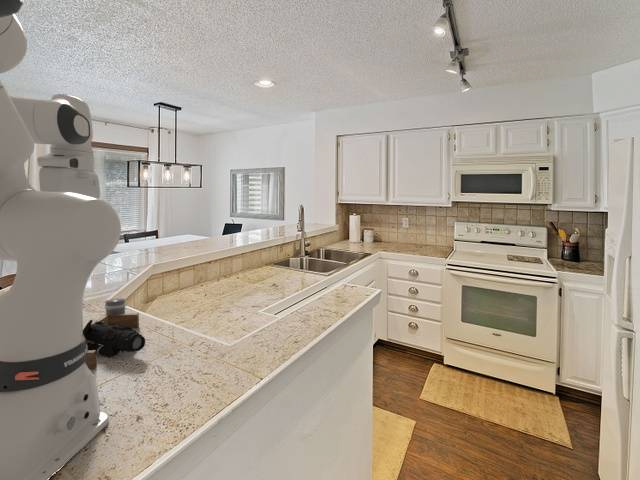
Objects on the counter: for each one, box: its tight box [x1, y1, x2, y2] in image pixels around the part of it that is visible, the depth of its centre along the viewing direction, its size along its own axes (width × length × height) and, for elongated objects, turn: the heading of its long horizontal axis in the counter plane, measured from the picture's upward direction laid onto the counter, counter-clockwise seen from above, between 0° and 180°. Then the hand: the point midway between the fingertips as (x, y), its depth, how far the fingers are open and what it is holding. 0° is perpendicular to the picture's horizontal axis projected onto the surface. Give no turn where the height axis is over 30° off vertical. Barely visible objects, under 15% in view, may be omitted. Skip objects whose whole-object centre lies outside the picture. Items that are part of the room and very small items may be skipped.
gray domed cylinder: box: [104, 297, 127, 314], centre depth 101 cm, size 5×5×7 cm
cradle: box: [84, 313, 140, 371], centre depth 85 cm, size 26×9×4 cm, turn 9°
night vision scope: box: [83, 319, 146, 359], centre depth 81 cm, size 8×18×10 cm
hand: (75, 217), depth 85 cm, fingers closed
